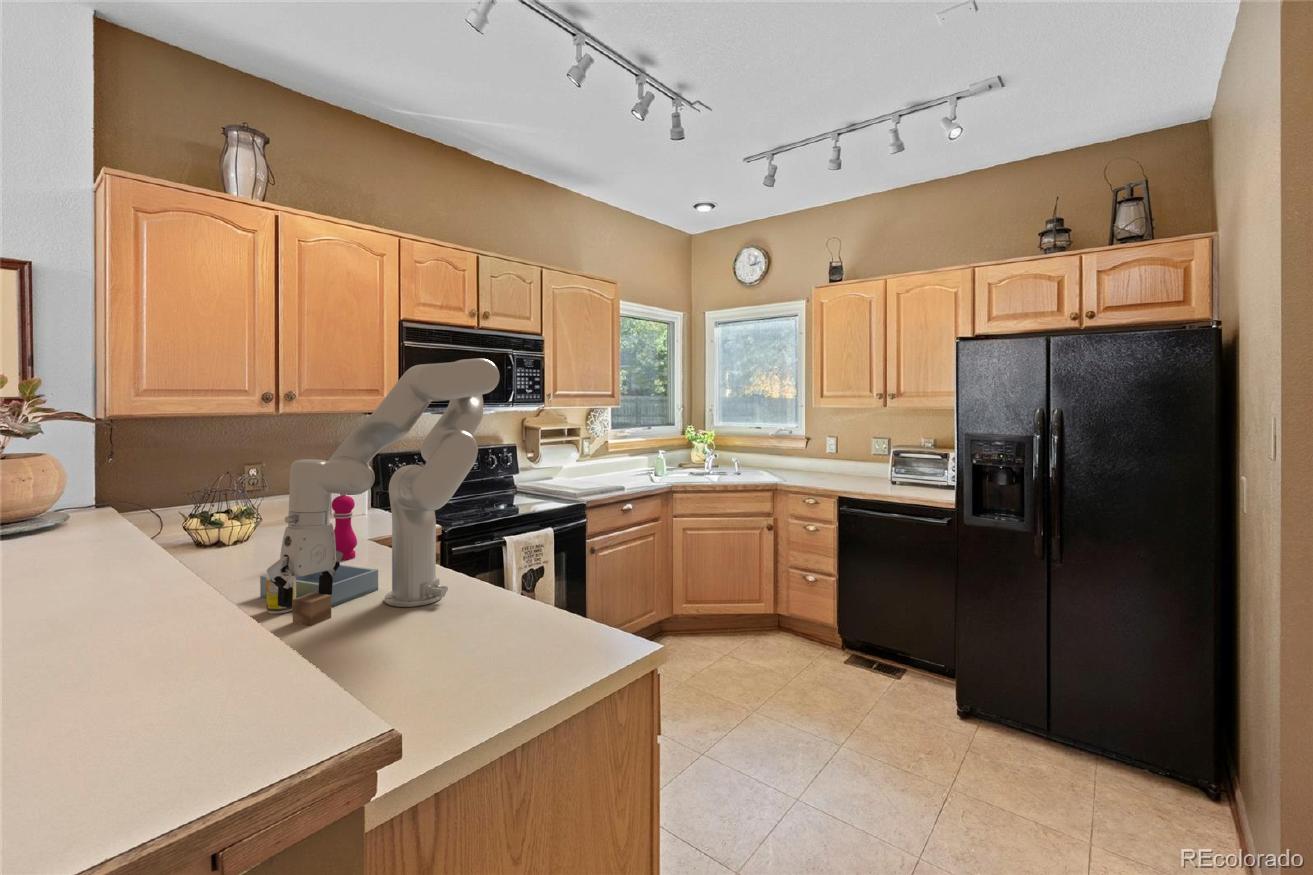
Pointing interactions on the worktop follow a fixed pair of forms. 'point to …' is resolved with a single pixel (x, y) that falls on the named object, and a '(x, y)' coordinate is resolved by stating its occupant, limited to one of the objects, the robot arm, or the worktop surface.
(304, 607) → the walnut cube
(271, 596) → the supplement bottle
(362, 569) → the tote
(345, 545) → the pepper mill
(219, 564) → the worktop surface
